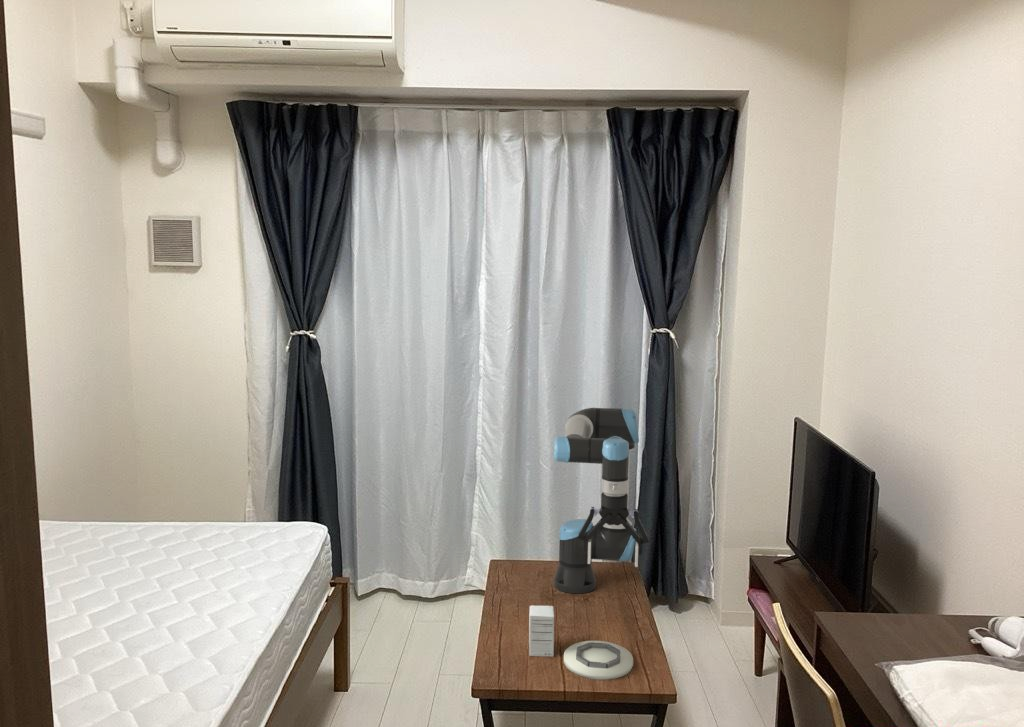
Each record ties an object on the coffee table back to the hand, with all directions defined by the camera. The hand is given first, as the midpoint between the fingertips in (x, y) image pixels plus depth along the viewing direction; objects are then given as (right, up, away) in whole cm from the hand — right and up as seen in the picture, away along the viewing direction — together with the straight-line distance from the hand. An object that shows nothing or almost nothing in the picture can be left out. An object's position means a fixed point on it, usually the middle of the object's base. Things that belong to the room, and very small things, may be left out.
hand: (612, 563), depth 232 cm
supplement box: (-21, -27, +5) cm, 35 cm away
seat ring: (-4, -27, -1) cm, 27 cm away
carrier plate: (-4, -28, -1) cm, 29 cm away
